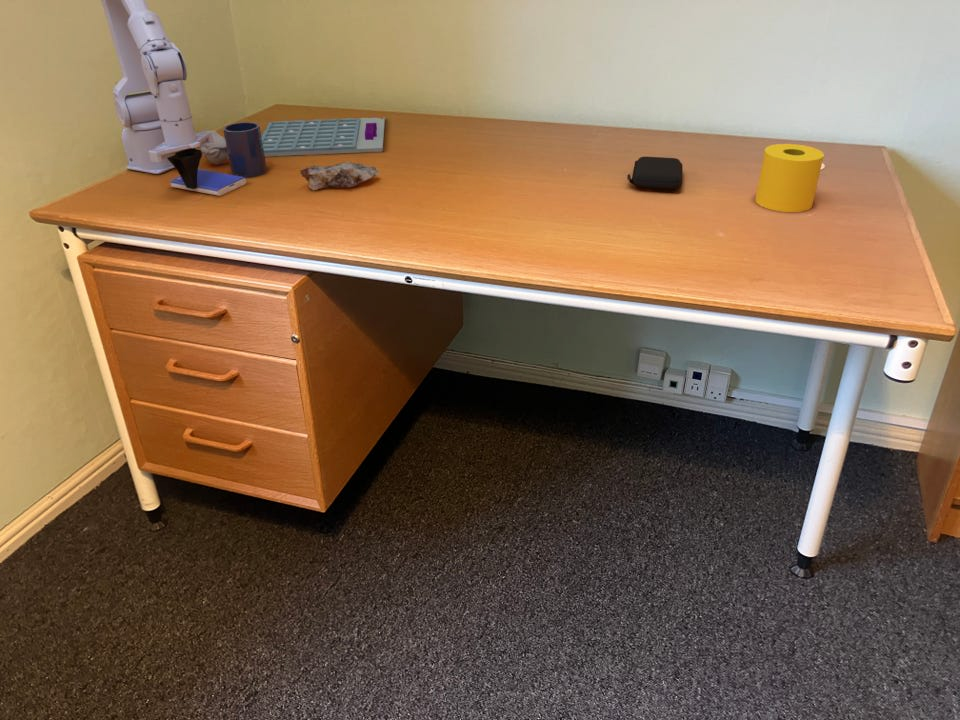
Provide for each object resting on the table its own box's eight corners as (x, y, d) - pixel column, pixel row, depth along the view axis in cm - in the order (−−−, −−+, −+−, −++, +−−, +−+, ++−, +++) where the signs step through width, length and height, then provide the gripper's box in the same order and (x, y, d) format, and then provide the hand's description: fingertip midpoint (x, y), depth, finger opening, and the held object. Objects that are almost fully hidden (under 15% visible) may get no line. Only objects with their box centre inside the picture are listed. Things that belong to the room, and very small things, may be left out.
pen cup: (224, 174, 158) (215, 129, 153) (247, 164, 164) (239, 120, 158) (251, 179, 155) (243, 133, 150) (274, 169, 161) (266, 124, 156)
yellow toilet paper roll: (784, 215, 135) (795, 164, 130) (743, 198, 142) (752, 149, 137) (824, 205, 139) (836, 155, 134) (782, 189, 146) (792, 140, 141)
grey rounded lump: (219, 157, 168) (212, 126, 164) (239, 163, 165) (233, 131, 161) (196, 164, 164) (189, 132, 160) (217, 170, 161) (210, 137, 157)
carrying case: (629, 167, 158) (625, 191, 146) (630, 153, 157) (626, 176, 145) (681, 170, 156) (681, 195, 144) (683, 156, 155) (683, 179, 143)
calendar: (272, 123, 191) (270, 114, 190) (385, 119, 193) (384, 109, 192) (254, 157, 168) (252, 146, 167) (382, 152, 170) (381, 141, 169)
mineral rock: (379, 176, 156) (377, 155, 153) (376, 189, 149) (374, 167, 147) (307, 178, 156) (304, 157, 153) (301, 192, 149) (298, 170, 146)
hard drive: (169, 180, 151) (217, 189, 146) (198, 168, 157) (245, 176, 153) (171, 187, 152) (218, 196, 147) (200, 175, 158) (246, 183, 153)
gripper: (162, 130, 134) (179, 202, 142) (219, 110, 145) (232, 179, 153) (133, 125, 137) (152, 197, 144) (191, 107, 148) (206, 174, 155)
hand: (191, 187), depth 149 cm, fingers closed
